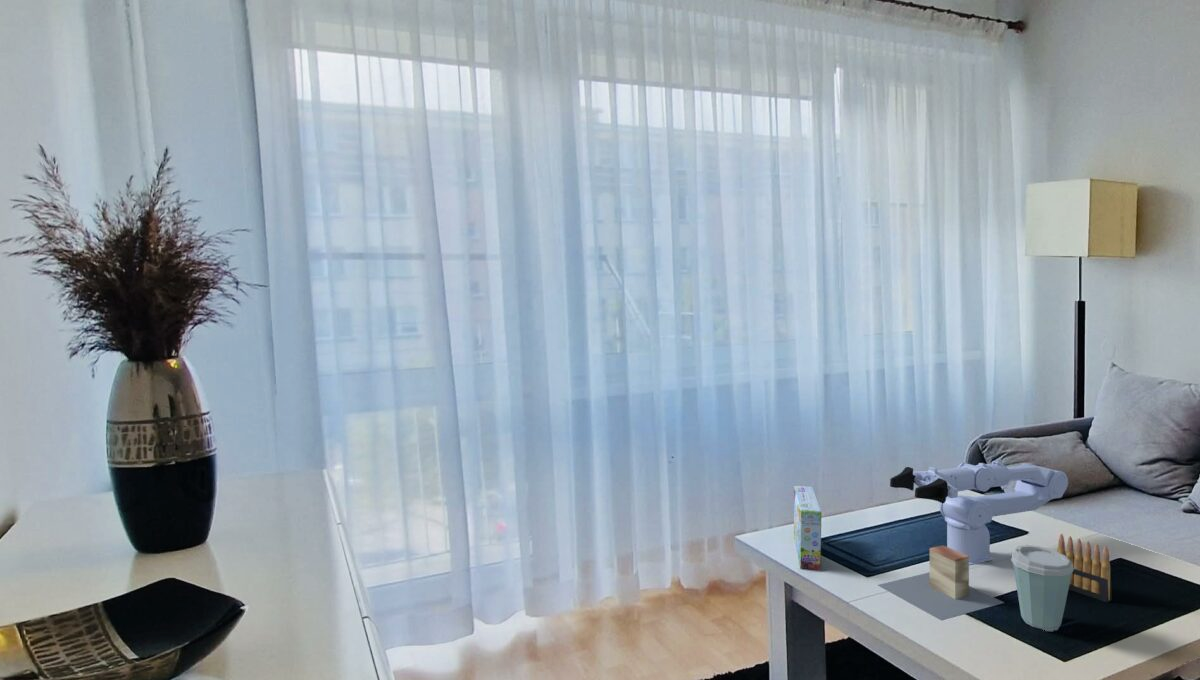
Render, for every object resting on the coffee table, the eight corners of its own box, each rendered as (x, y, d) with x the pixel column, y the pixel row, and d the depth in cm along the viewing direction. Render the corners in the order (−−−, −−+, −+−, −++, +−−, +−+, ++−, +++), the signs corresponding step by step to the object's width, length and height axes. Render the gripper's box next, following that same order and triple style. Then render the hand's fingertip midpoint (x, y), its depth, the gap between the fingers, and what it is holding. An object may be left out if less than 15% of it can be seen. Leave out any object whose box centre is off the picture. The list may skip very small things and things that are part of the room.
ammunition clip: (1112, 600, 145) (1113, 546, 144) (1107, 602, 145) (1109, 548, 144) (1058, 582, 155) (1059, 531, 154) (1054, 584, 154) (1054, 533, 153)
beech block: (942, 582, 156) (942, 545, 155) (968, 595, 149) (968, 556, 149) (929, 586, 154) (929, 548, 154) (955, 599, 148) (955, 559, 147)
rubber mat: (936, 572, 162) (936, 570, 162) (1004, 604, 146) (1004, 602, 146) (877, 586, 156) (877, 584, 156) (941, 622, 139) (941, 620, 139)
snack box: (823, 570, 166) (822, 511, 165) (799, 569, 167) (798, 510, 166) (813, 538, 187) (813, 485, 186) (792, 537, 188) (791, 484, 187)
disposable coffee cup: (1069, 617, 139) (1070, 547, 138) (1076, 643, 130) (1078, 567, 128) (1009, 607, 144) (1010, 539, 143) (1011, 631, 135) (1012, 558, 133)
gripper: (923, 457, 172) (881, 462, 167) (973, 474, 158) (929, 481, 154) (921, 483, 173) (880, 490, 168) (970, 503, 159) (927, 511, 154)
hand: (903, 487), depth 161 cm, fingers open, 7 cm apart
